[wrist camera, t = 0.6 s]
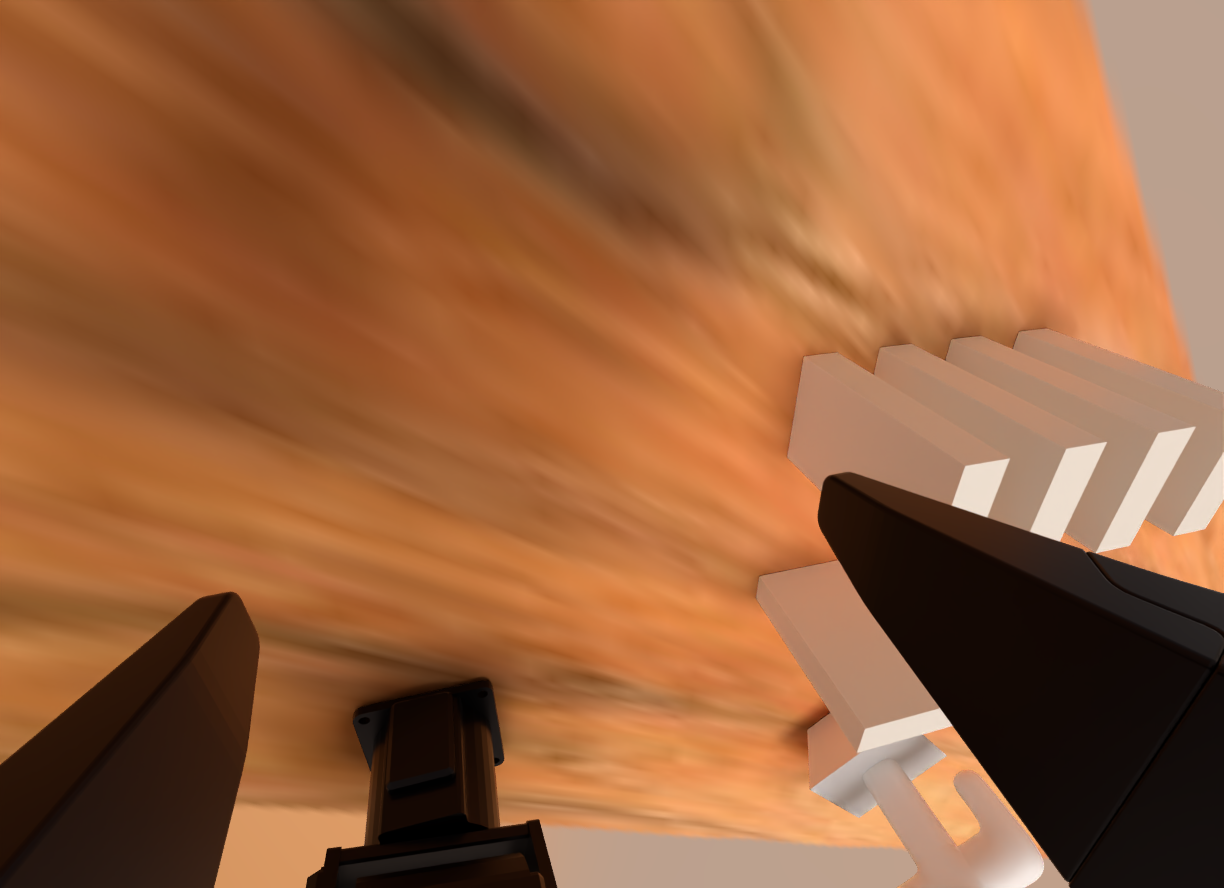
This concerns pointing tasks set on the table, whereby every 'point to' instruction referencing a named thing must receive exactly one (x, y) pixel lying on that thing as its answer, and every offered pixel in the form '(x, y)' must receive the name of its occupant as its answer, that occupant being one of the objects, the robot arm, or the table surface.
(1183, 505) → the domino
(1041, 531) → the domino
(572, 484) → the table surface
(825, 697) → the domino
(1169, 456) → the domino
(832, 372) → the domino
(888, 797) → the figurine
